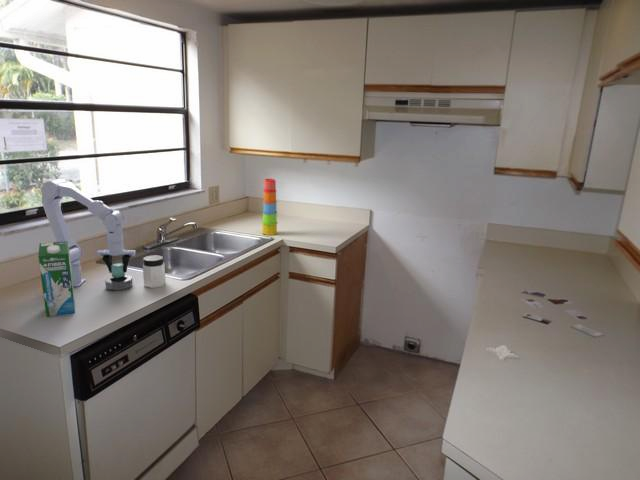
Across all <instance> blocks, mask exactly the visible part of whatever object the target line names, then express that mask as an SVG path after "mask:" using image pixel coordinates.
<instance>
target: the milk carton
mask: <svg viewBox="0 0 640 480" xmlns="http://www.w3.org/2000/svg"><path fill="white" fill-rule="evenodd" d="M38 263H39V271H40V278H41V286H42V294H43V301H44V310H45V317H46V318H47V317H55V316H62V315H67V314H69V315H70V314H75V313H76V298H75V297H76V296H75V288H74V287H73V278H72V270H71V261H70V252H69V243H68V241H63V242H56V241H53V242H52V241H51V242H39V245H38Z"/></svg>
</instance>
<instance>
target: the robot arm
mask: <svg viewBox="0 0 640 480" xmlns="http://www.w3.org/2000/svg"><path fill="white" fill-rule="evenodd" d="M39 189H40V192H41V204H42V207H43V210H44V212H45V215H46V217H47V219H48V224H49V225H50V228H51V231H52V233H53V236H54V239H55V242H63V241H68V243H69V252H70V261H71V270H72V278H73V287H75V288H76V287H80V286H82V284H83V283H84V282H85V281H86V278H83V277H82V267H81V259H82V257H83V253H84V252H83V250H82V249H81V247H80V246H79V244H78V242H77V241H75V240H73V239H72V236H71V234H70V230H69V228H68V226H67V223H66V221H65V218H64V215H63V212H62V209H61V207H60V202H61V201H62V199H63V197H64V198H65V197H67V198H71V199H73V200H75V201H76V202H78V203H80V204H81V205H83V206H85V207H86V208H87V209H88V212H89V213H91V214H92V215H93V216H95V217H97V218H98V219H100V220H101V221H102V223H103V224H104V226H105V227H106V233H107V234H106V235H107V236H106V237H107V245H108V247H107V248H108V249H102V250H97V251H96V254H97V257H102V261H103V262H104V263H105V265H106V267H107V270H108V272H109V274H112V272H111V265H113V256H116V257H117V256H122V257H121V261H122V264H123V271H124V273H127V272H128V270H127V269H128V266H129V262H130V259H131V257H135V256H136V250H135V249H134V250H133V249H126V248H125V246H124V245H125V244H124V235H123V233H124V232H123V223H124V221H125V217H124V214H123V212H121V211H120V210H114V208H111V207H110V206H108V205H107V204H105V203H104V201H102V200H98V199H97V200H96V199H95V200H93V199H92V198H91V197H89V196H88V195H87V194H86V193H84V192H83V191H81V190H80V189H78V187H76V186H75V184H74V183H73V182H71V181H70V180H68V179H66V178H63V177H61V178H58V179H54V180H47V181H45V182H44V183H42V185H41V187H40V188H39Z"/></svg>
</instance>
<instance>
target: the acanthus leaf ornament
mask: <svg viewBox="0 0 640 480" xmlns="http://www.w3.org/2000/svg"><path fill="white" fill-rule="evenodd" d="M485 350H486V351H487V352H489V353H492V354H493V355H496V356H498V358H499V359H500V360H501V361H504V360H505V358H508V359H514V358H517V359H519V356H518V355H516V354H514V353H511V350H510V349H509V348H508V347H507V346H506V345H500V346H499V347H496V348H494V347H487V348H486V349H485Z"/></svg>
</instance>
